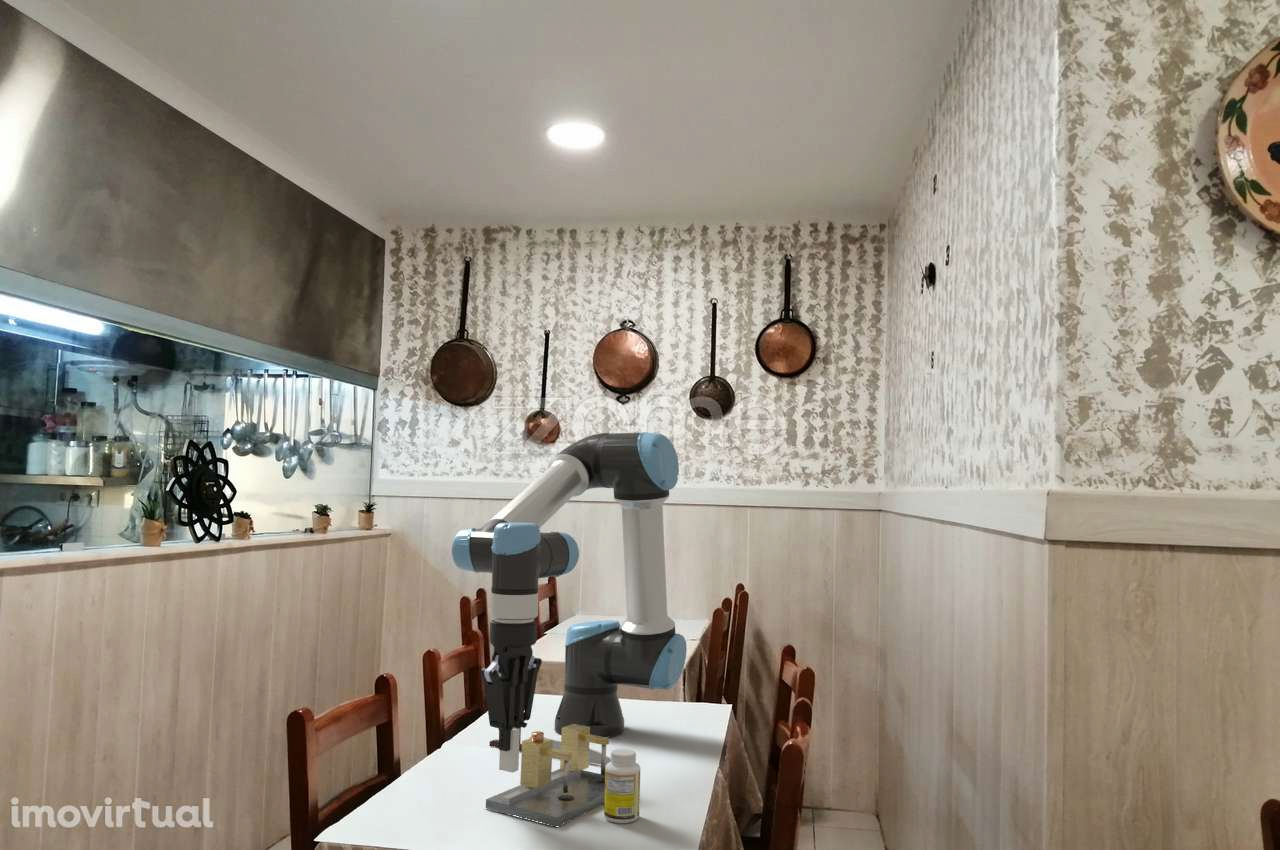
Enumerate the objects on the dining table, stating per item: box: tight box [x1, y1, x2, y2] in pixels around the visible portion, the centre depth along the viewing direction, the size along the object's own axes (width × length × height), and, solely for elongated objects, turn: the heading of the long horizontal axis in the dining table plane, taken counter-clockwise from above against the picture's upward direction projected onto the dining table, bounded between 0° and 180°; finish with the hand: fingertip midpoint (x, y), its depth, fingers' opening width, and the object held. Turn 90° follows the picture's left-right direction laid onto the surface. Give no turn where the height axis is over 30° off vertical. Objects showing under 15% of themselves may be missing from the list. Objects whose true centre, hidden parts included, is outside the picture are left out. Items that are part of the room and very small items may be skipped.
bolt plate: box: [485, 768, 605, 827], centre depth 148 cm, size 22×14×2 cm, turn 150°
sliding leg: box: [519, 731, 572, 793], centre depth 146 cm, size 4×8×8 cm, turn 60°
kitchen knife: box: [488, 735, 611, 765], centre depth 171 cm, size 4×1×30 cm
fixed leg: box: [559, 724, 610, 776], centre depth 155 cm, size 4×8×7 cm, turn 60°
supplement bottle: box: [603, 748, 641, 824], centre depth 140 cm, size 6×6×10 cm
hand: (508, 769), depth 141 cm, fingers closed
